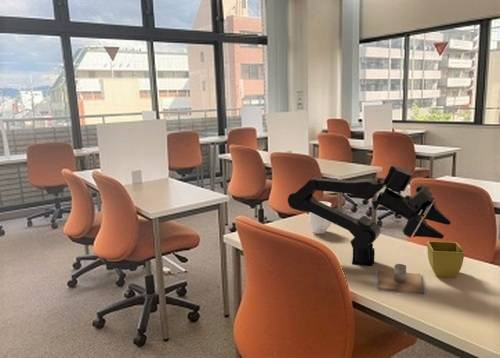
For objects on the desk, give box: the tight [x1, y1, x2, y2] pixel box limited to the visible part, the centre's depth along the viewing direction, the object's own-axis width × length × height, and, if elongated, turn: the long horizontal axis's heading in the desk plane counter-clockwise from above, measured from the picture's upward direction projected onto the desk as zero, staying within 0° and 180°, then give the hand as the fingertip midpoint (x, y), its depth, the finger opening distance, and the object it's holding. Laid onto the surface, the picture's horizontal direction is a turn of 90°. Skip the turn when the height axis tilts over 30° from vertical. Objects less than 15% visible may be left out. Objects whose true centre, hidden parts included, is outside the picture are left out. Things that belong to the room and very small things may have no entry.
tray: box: [374, 270, 429, 297], centre depth 120 cm, size 14×14×1 cm
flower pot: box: [426, 240, 466, 278], centre depth 125 cm, size 9×9×9 cm
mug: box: [308, 200, 332, 235], centre depth 167 cm, size 12×9×12 cm
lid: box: [377, 263, 424, 294], centre depth 120 cm, size 12×12×5 cm
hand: (446, 230), depth 121 cm, fingers open, 9 cm apart
